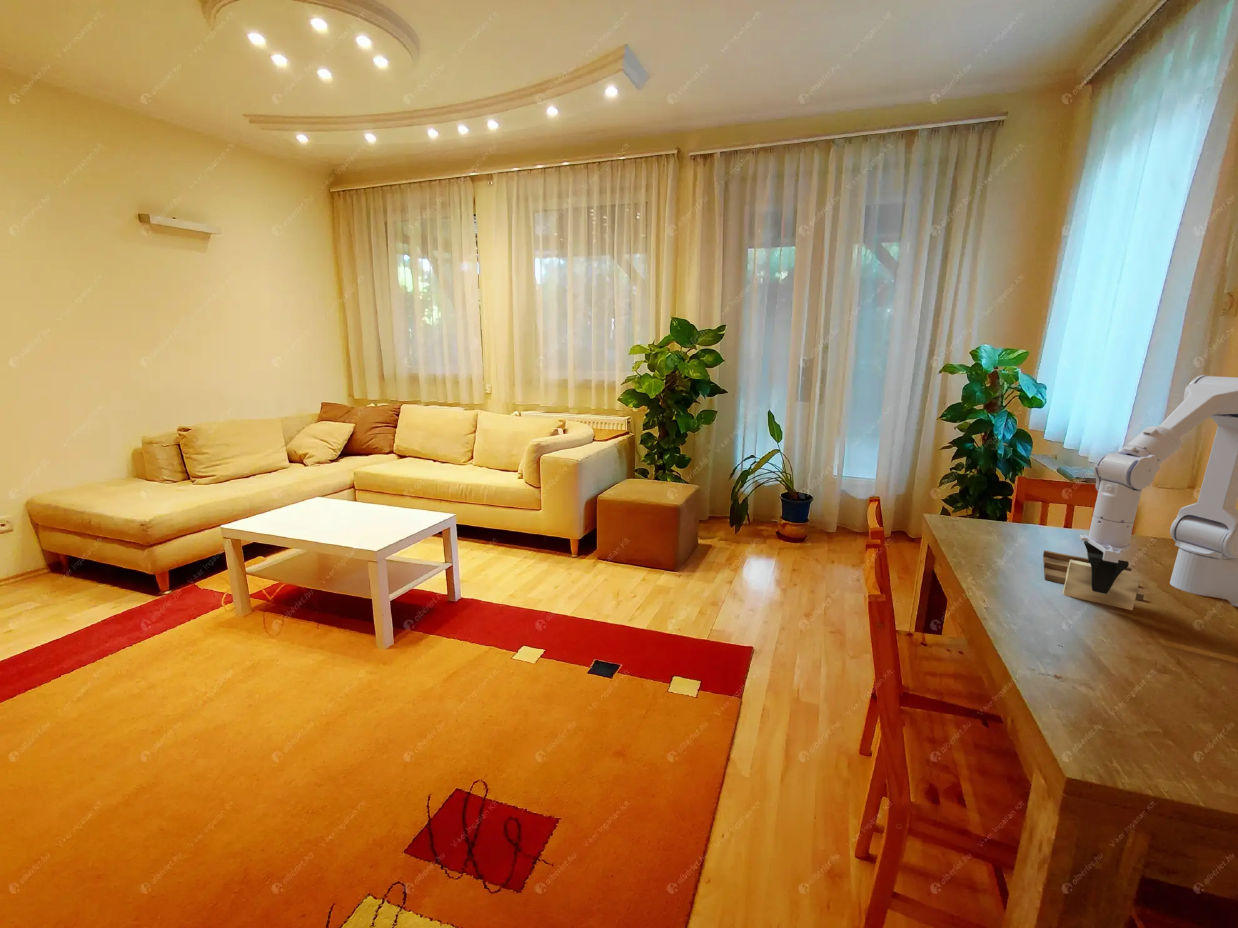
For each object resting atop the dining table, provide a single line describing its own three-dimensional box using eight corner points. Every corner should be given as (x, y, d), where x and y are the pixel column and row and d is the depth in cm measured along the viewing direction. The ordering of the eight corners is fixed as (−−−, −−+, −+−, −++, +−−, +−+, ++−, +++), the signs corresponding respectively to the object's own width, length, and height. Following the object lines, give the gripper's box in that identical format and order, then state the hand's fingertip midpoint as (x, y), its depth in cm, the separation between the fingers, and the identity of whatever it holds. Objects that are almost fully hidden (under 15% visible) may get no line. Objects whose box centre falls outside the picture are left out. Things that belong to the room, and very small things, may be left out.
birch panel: (1130, 607, 101) (1139, 572, 100) (1132, 611, 100) (1140, 576, 98) (1062, 592, 107) (1069, 559, 106) (1063, 595, 106) (1070, 562, 104)
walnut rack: (1129, 575, 117) (1131, 566, 117) (1141, 604, 104) (1144, 594, 103) (1042, 558, 126) (1044, 550, 125) (1043, 582, 113) (1045, 574, 112)
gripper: (1082, 505, 108) (1068, 568, 111) (1088, 523, 97) (1072, 592, 100) (1129, 512, 104) (1114, 577, 107) (1142, 531, 93) (1124, 604, 96)
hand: (1097, 585), depth 103 cm, fingers open, 6 cm apart
